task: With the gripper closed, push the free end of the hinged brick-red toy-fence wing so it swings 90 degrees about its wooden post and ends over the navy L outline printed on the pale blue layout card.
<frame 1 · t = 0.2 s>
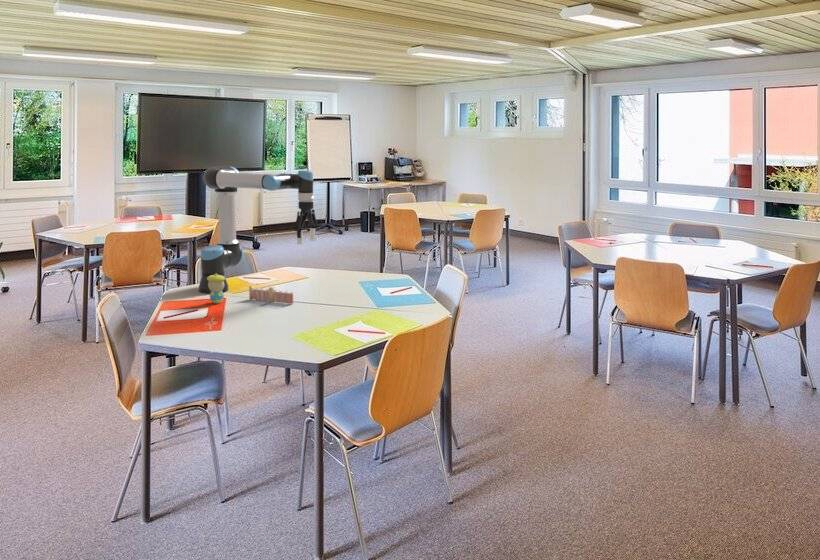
hand: (306, 242, 343), 28 cm above the table, fingers open, 13 cm apart
toy: (216, 303, 327), on the table
fence wing: (283, 296, 327), point 4 cm above the table, hinge at 0.0°
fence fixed: (271, 302, 331), on the table
layout card: (267, 304, 327), on the table
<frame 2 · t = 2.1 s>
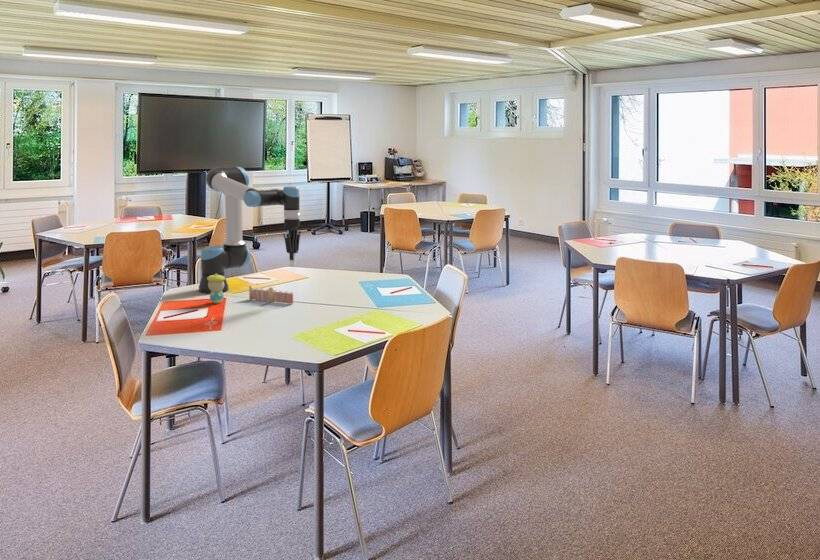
hand: (292, 266, 329), 18 cm above the table, fingers closed
nothing on the table moved.
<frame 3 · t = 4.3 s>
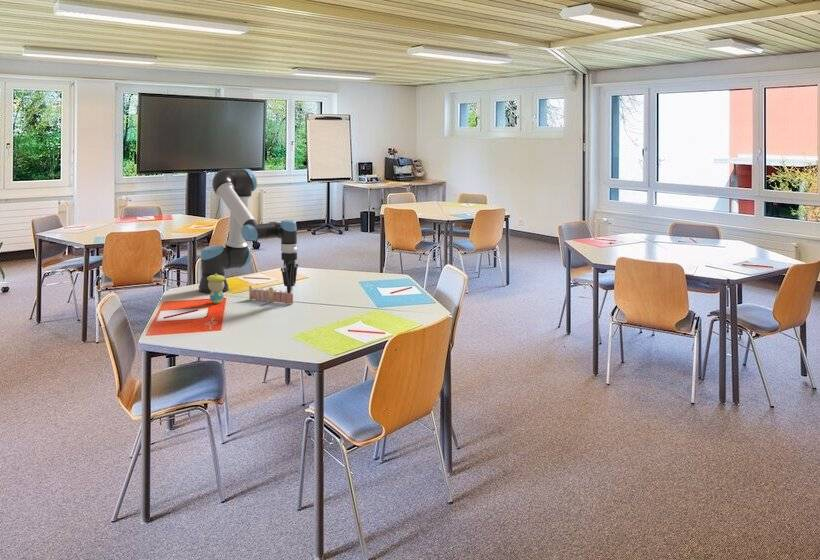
hand: (290, 298, 329), 2 cm above the table, fingers closed
fence wing: (283, 296, 327), point 4 cm above the table, hinge at -0.1°, touching gripper
everything else where it was.
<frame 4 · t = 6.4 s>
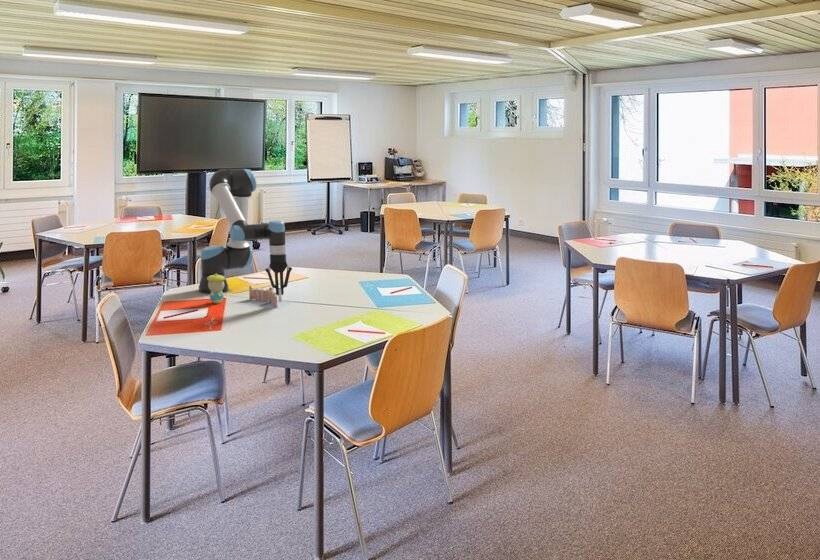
hand: (280, 301, 323), 2 cm above the table, fingers closed
fence wing: (274, 298, 324), point 4 cm above the table, hinge at -47.7°, touching gripper
everything else where it was.
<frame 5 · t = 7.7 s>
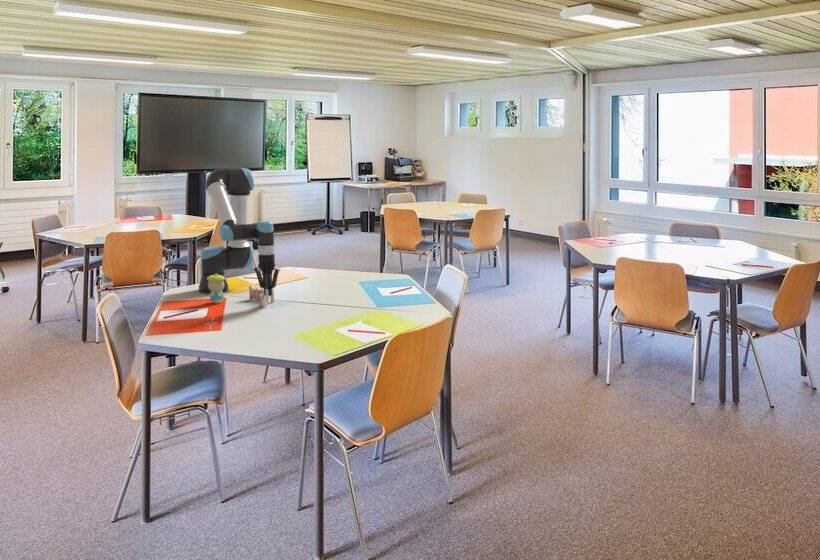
hand: (268, 302, 321), 3 cm above the table, fingers closed
fence wing: (265, 298, 323), point 4 cm above the table, hinge at -82.1°, touching gripper
everything else where it was.
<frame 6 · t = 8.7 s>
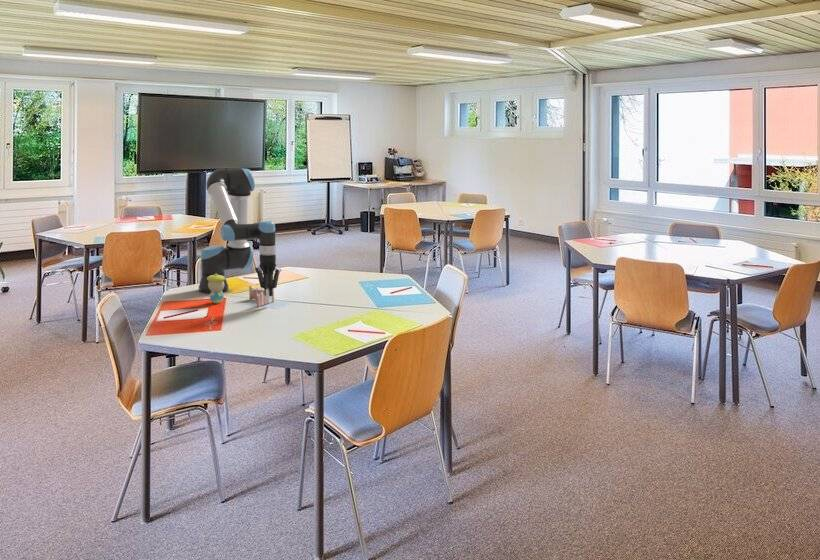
hand: (268, 302, 320), 3 cm above the table, fingers closed
fence wing: (263, 298, 324), point 4 cm above the table, hinge at -90.6°
everything else where it was.
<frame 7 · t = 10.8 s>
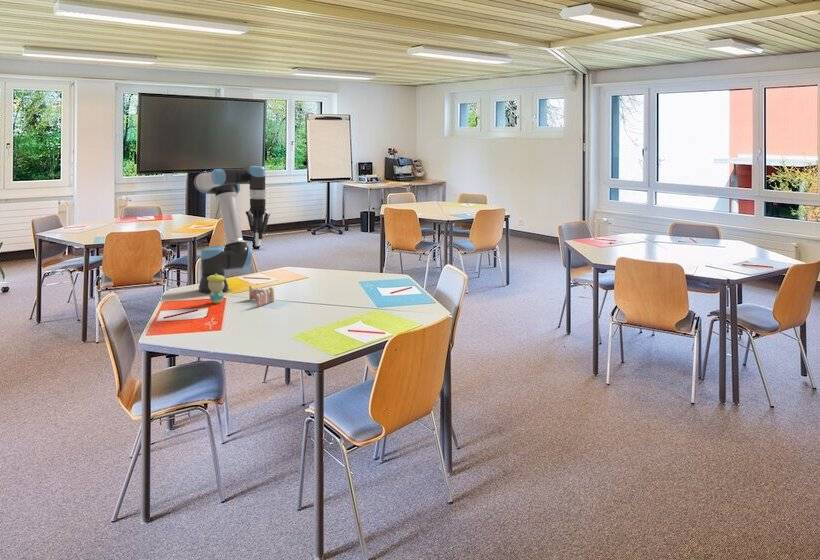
hand: (258, 245, 331), 28 cm above the table, fingers closed
nothing on the table moved.
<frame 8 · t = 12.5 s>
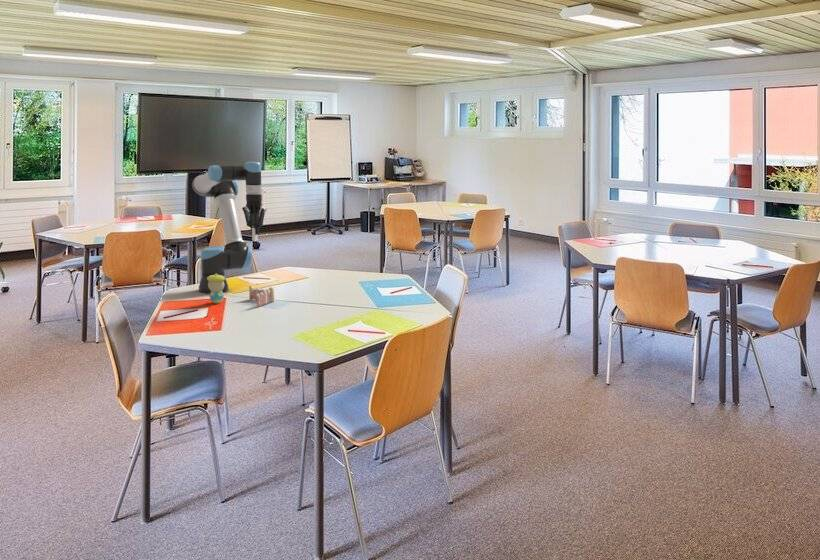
hand: (255, 240, 333), 29 cm above the table, fingers closed
nothing on the table moved.
at the end: fence wing at -91° (first picture: +0°); toy moved 0.2 cm from its start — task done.
